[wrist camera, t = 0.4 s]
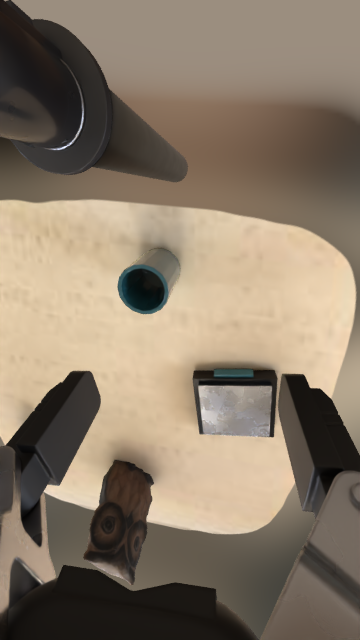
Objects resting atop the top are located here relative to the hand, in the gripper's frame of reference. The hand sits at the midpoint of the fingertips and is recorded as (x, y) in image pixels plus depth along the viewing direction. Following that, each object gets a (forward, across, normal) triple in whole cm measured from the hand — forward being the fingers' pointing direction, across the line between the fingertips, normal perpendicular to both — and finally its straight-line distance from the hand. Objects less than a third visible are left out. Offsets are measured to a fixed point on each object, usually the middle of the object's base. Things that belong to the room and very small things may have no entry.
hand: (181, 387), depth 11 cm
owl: (+28, +25, +61) cm, 71 cm away
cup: (+31, +8, +4) cm, 32 cm away
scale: (+29, -4, +32) cm, 44 cm away
